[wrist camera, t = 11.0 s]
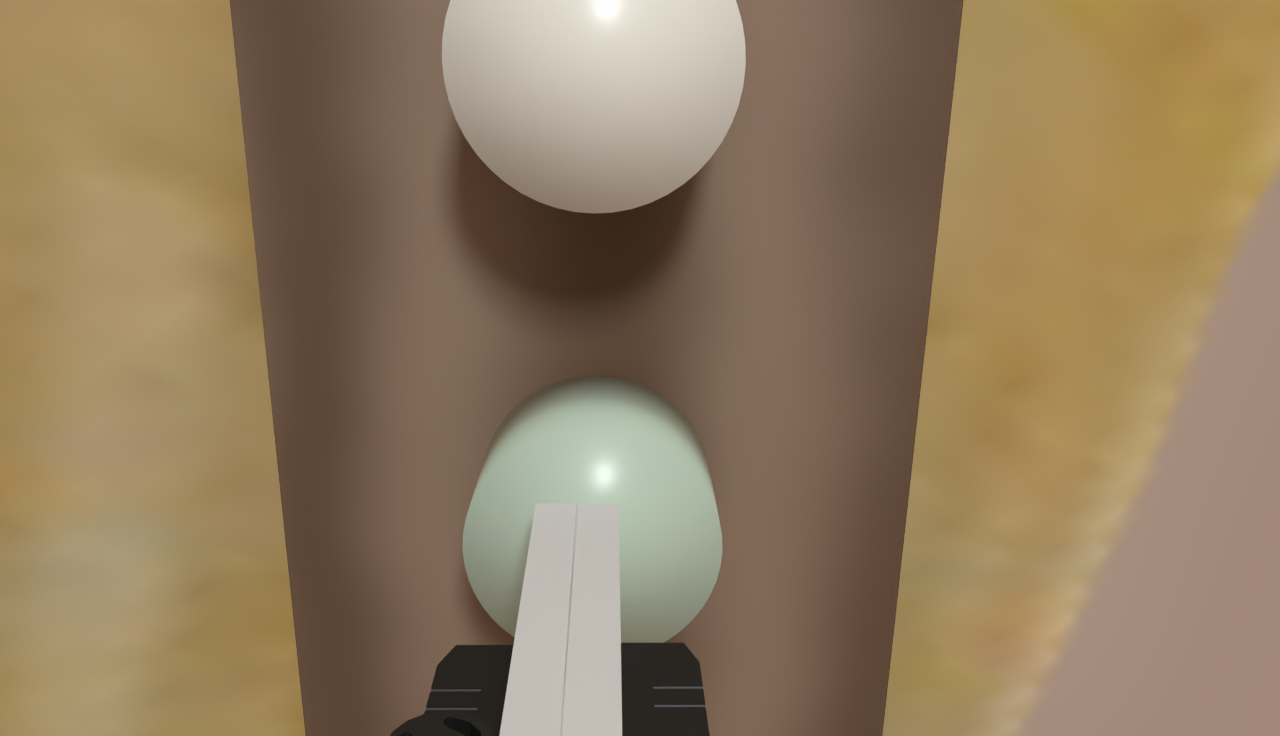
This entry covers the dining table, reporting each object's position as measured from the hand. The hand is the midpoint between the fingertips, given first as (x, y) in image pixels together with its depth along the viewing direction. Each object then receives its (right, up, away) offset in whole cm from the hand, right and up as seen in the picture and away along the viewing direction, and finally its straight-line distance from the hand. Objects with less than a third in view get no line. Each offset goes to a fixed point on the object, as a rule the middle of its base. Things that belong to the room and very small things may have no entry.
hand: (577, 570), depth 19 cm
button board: (0, +2, +7) cm, 7 cm away
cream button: (0, +10, +1) cm, 10 cm away
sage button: (0, +1, +4) cm, 4 cm away
